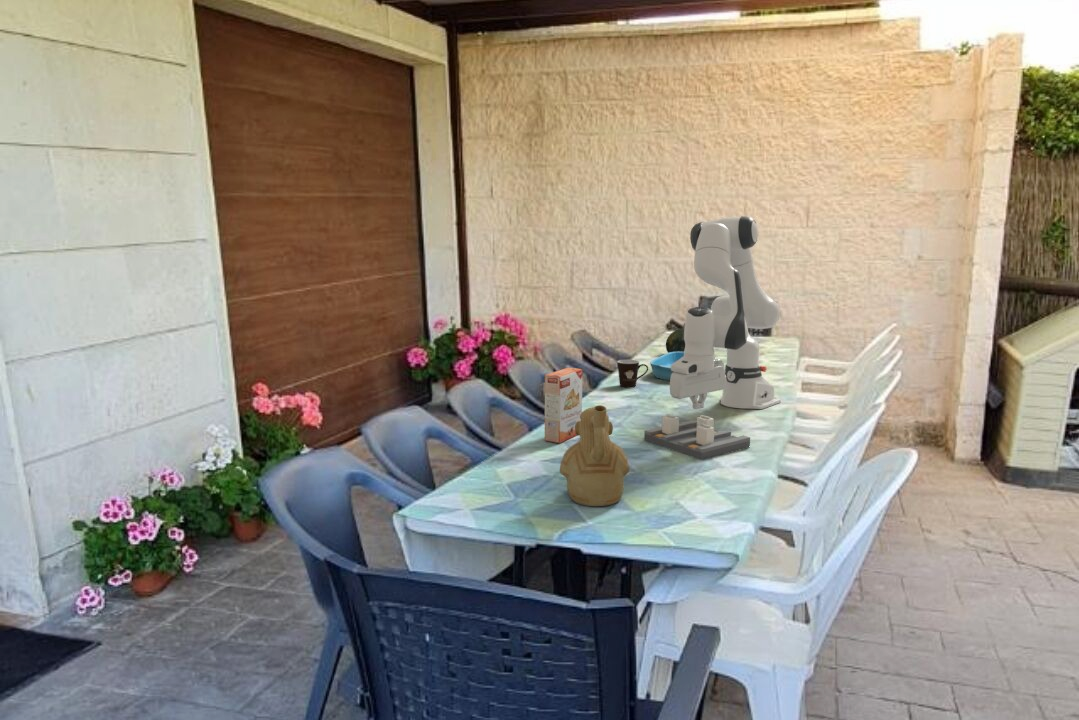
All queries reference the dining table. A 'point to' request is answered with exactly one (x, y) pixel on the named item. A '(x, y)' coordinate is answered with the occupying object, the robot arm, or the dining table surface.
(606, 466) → the ceramic vessel
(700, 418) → the white rectangular block
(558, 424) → the cracker box
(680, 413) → the dining table surface
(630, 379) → the coffee mug
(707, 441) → the tab
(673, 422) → the tab
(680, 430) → the switch board
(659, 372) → the casserole dish
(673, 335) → the squash
